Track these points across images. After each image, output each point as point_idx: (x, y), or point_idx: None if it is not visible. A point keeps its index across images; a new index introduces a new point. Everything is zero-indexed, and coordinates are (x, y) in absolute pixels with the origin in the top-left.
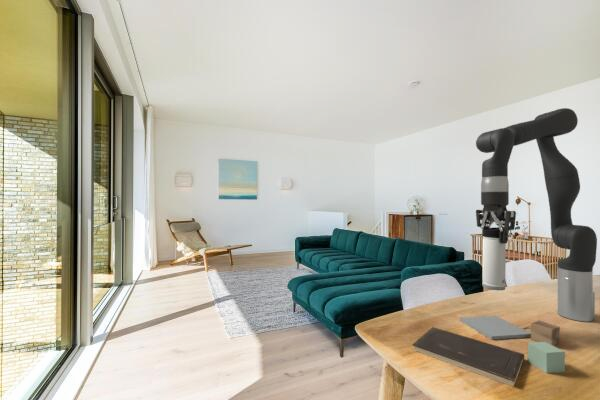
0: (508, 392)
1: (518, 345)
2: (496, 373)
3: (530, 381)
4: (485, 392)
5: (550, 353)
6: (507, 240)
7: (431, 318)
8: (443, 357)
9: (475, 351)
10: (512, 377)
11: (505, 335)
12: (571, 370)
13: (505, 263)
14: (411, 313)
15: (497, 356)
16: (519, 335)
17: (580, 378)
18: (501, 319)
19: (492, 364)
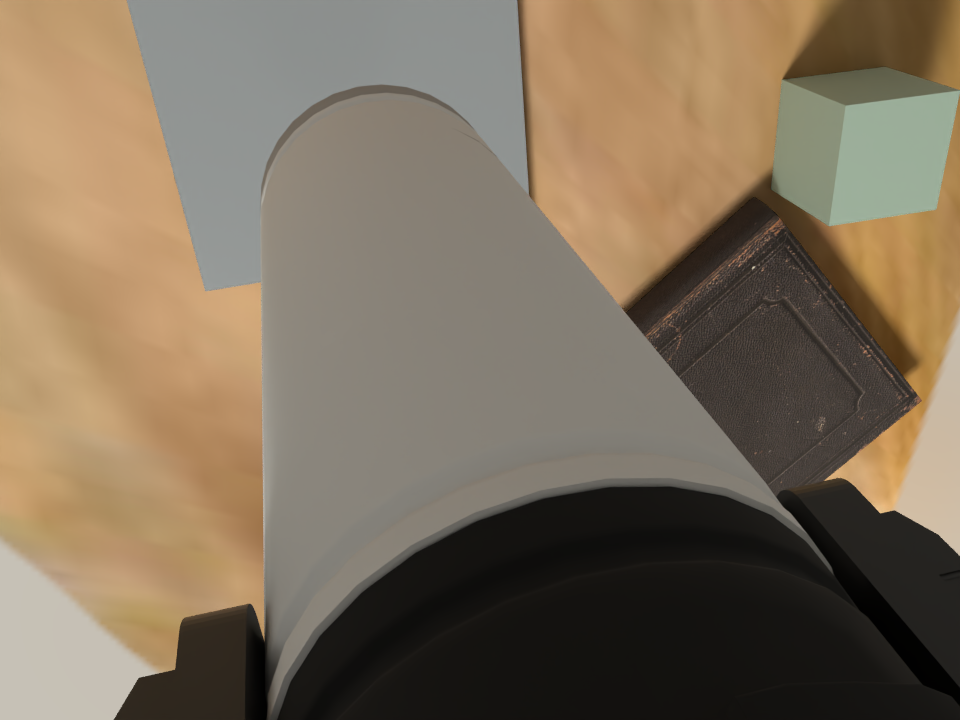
0: (914, 420)
1: (609, 102)
2: (870, 440)
3: (891, 297)
4: (891, 491)
5: (937, 183)
6: (930, 543)
7: (188, 460)
8: None
9: None
10: (908, 398)
11: (524, 131)
12: (887, 13)
13: (540, 217)
14: (105, 558)
15: (768, 364)
16: (516, 8)
17: (945, 36)
18: None
19: (815, 421)
